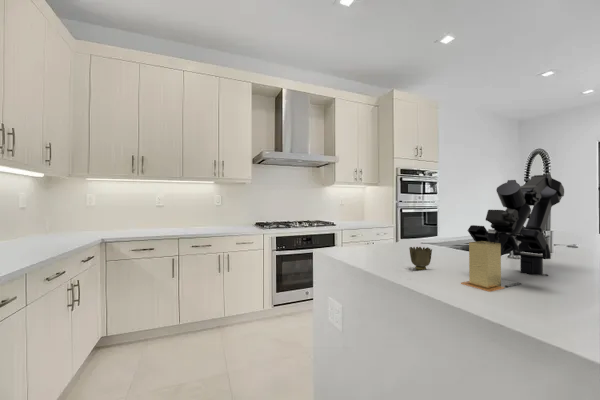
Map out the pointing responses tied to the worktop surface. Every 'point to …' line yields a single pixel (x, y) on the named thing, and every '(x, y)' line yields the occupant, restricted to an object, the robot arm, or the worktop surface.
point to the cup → (420, 257)
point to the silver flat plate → (503, 285)
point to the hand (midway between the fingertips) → (491, 258)
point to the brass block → (485, 264)
